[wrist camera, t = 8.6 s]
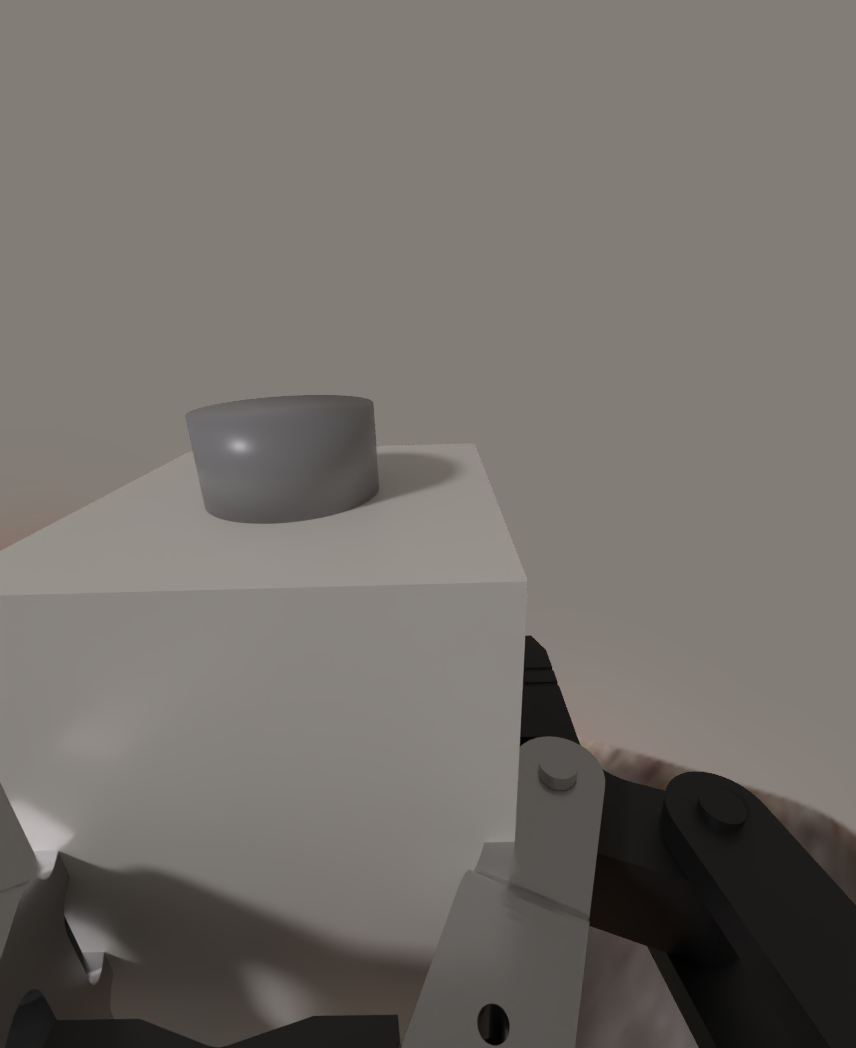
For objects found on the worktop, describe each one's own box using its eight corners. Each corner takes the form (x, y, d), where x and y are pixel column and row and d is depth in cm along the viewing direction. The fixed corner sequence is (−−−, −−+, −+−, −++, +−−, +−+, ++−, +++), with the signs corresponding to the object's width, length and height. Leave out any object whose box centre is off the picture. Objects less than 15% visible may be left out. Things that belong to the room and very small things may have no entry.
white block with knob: (183, 1162, 9) (-151, 470, 4) (274, 850, 14) (175, 388, 9) (498, 1158, 9) (534, 449, 4) (472, 846, 14) (474, 379, 9)
